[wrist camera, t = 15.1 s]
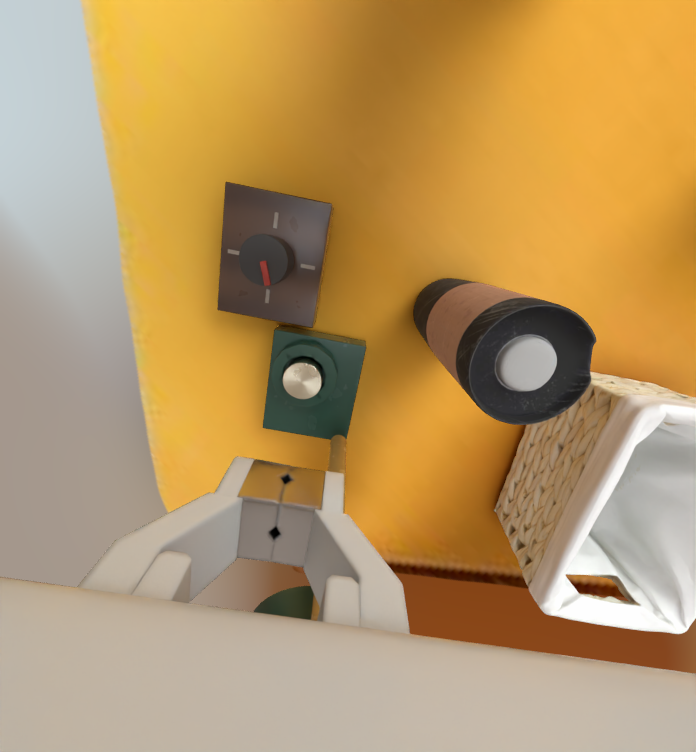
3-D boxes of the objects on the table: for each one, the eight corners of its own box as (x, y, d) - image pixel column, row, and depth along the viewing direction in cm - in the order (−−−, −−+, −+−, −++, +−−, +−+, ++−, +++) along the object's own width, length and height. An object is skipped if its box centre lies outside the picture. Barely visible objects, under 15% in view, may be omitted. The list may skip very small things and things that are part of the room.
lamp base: (279, 324, 40) (270, 333, 35) (365, 340, 40) (367, 351, 36) (267, 417, 44) (258, 435, 39) (346, 431, 44) (345, 450, 40)
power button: (288, 354, 36) (285, 359, 35) (325, 361, 37) (324, 366, 35) (283, 389, 38) (280, 395, 36) (319, 395, 38) (318, 402, 36)
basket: (548, 349, 40) (651, 401, 26) (678, 375, 41) (844, 439, 27) (481, 513, 48) (534, 619, 34) (592, 531, 49) (686, 642, 35)
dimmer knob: (244, 239, 34) (232, 237, 30) (289, 232, 33) (282, 230, 30) (254, 285, 35) (244, 289, 32) (297, 279, 35) (291, 282, 31)
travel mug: (396, 316, 39) (438, 378, 20) (443, 260, 37) (538, 271, 18) (446, 357, 41) (527, 449, 22) (493, 305, 39) (629, 358, 20)
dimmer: (235, 187, 35) (224, 181, 32) (333, 207, 35) (332, 203, 32) (226, 305, 39) (216, 310, 36) (315, 322, 39) (312, 328, 36)
